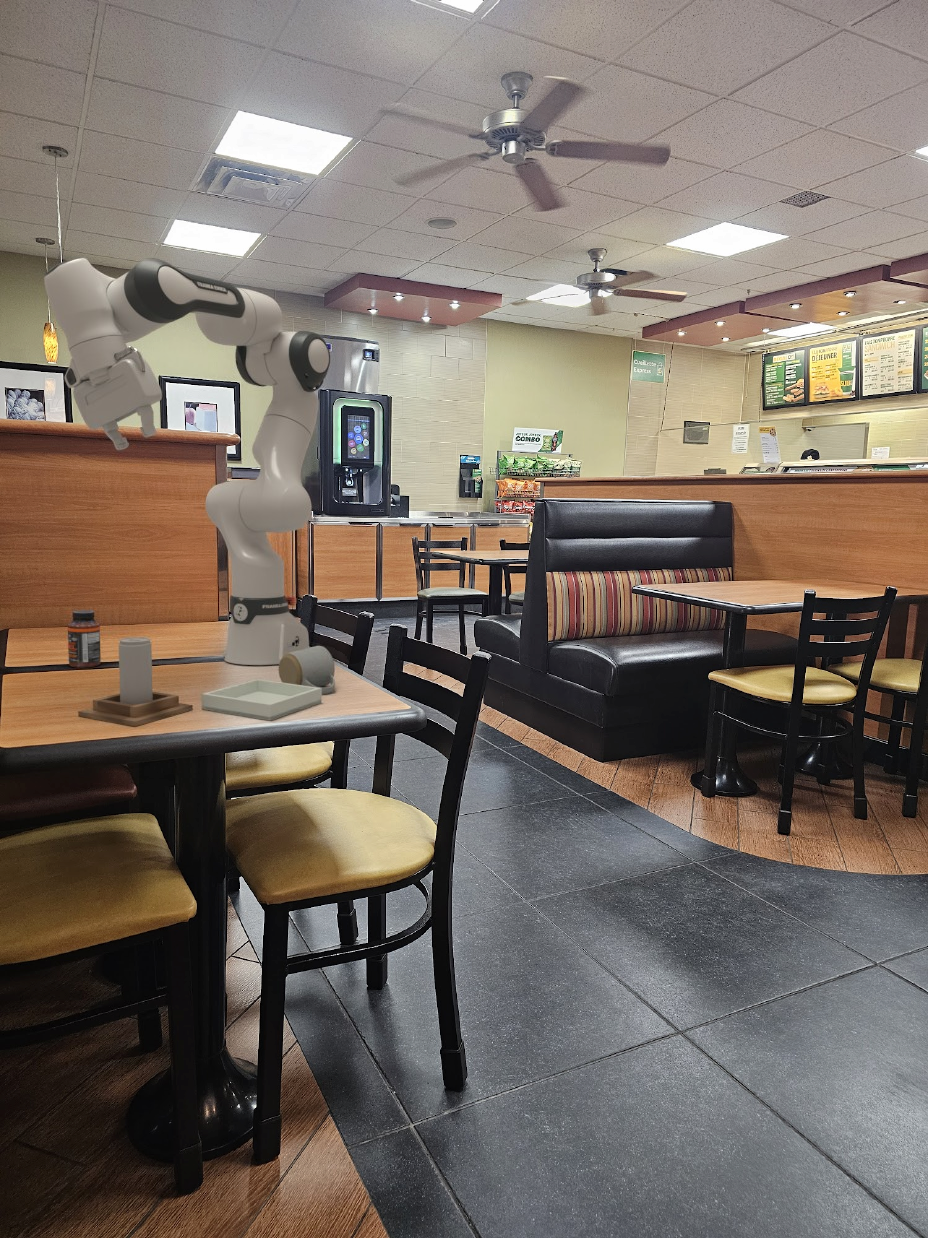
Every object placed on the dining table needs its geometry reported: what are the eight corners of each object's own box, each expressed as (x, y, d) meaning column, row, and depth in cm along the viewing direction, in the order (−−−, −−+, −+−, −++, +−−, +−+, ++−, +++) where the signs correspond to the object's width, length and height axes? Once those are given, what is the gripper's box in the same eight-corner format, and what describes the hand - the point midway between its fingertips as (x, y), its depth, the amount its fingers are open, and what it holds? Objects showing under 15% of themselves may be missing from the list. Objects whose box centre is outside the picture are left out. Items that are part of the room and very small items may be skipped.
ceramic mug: (275, 688, 147) (275, 647, 146) (310, 681, 153) (311, 642, 152) (311, 699, 140) (311, 656, 139) (346, 692, 147) (347, 651, 145)
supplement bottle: (62, 665, 161) (60, 610, 160) (90, 661, 166) (89, 608, 165) (78, 669, 158) (76, 613, 156) (106, 665, 163) (105, 611, 161)
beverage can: (141, 718, 124) (139, 642, 122) (113, 715, 125) (111, 640, 123) (159, 710, 128) (157, 638, 127) (132, 708, 129) (130, 636, 128)
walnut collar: (138, 700, 134) (138, 686, 134) (192, 709, 130) (192, 695, 129) (78, 716, 124) (77, 700, 123) (134, 726, 119) (134, 710, 118)
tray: (257, 693, 143) (257, 679, 142) (321, 702, 137) (321, 688, 137) (201, 709, 130) (201, 694, 130) (270, 721, 124) (270, 704, 124)
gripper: (151, 340, 128) (184, 424, 131) (93, 376, 141) (124, 451, 144) (117, 344, 123) (152, 431, 126) (59, 381, 136) (92, 459, 139)
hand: (136, 442), depth 135 cm, fingers open, 8 cm apart
